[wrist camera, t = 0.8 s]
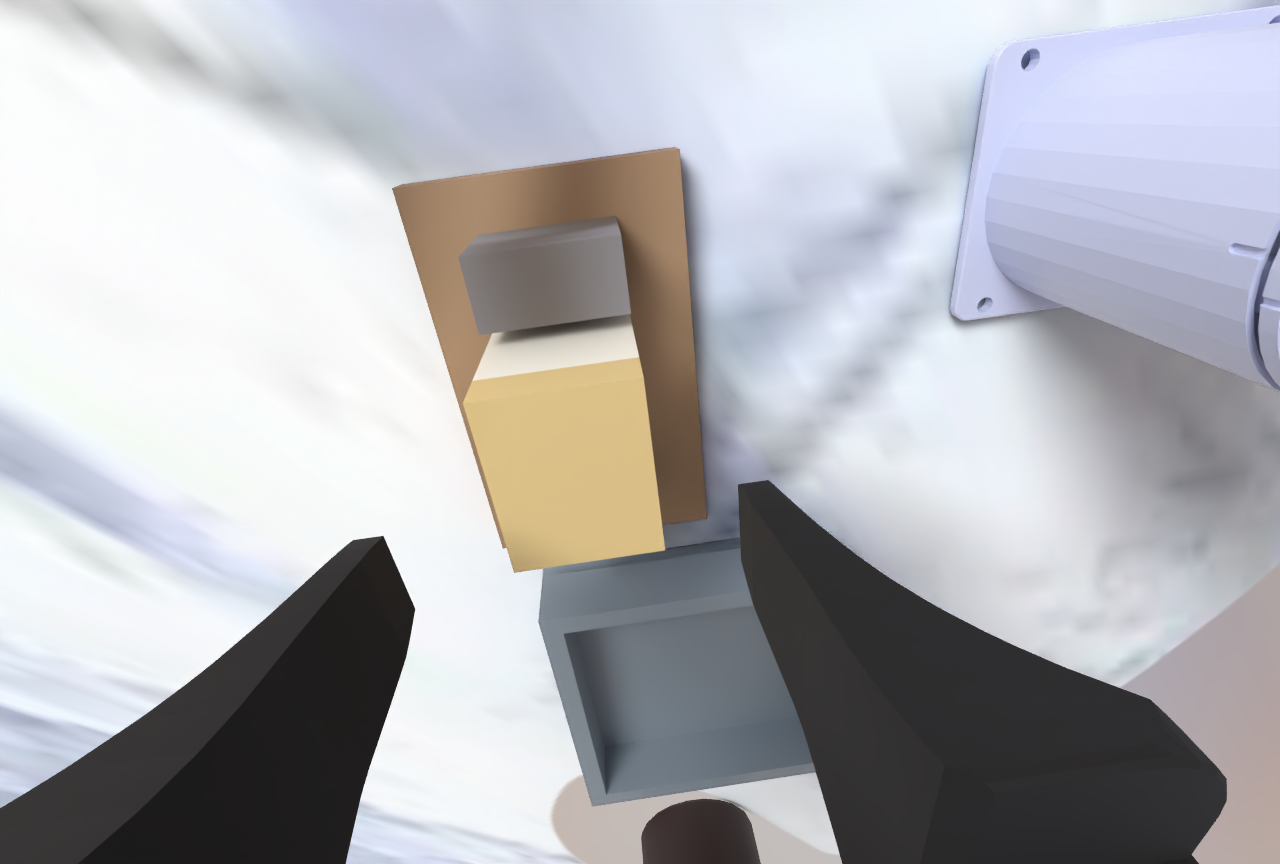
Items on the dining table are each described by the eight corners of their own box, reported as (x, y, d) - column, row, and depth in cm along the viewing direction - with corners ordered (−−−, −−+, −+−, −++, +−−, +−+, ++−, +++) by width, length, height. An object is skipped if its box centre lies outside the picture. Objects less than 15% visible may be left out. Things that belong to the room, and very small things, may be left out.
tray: (819, 526, 24) (848, 576, 22) (810, 713, 31) (831, 769, 28) (543, 566, 24) (538, 622, 21) (591, 746, 30) (592, 806, 28)
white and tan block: (626, 300, 18) (643, 377, 13) (644, 437, 20) (665, 550, 15) (498, 317, 18) (462, 403, 13) (532, 454, 20) (513, 572, 15)
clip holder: (674, 147, 17) (697, 156, 13) (702, 503, 23) (723, 572, 20) (402, 184, 17) (353, 203, 13) (506, 531, 23) (491, 606, 20)
